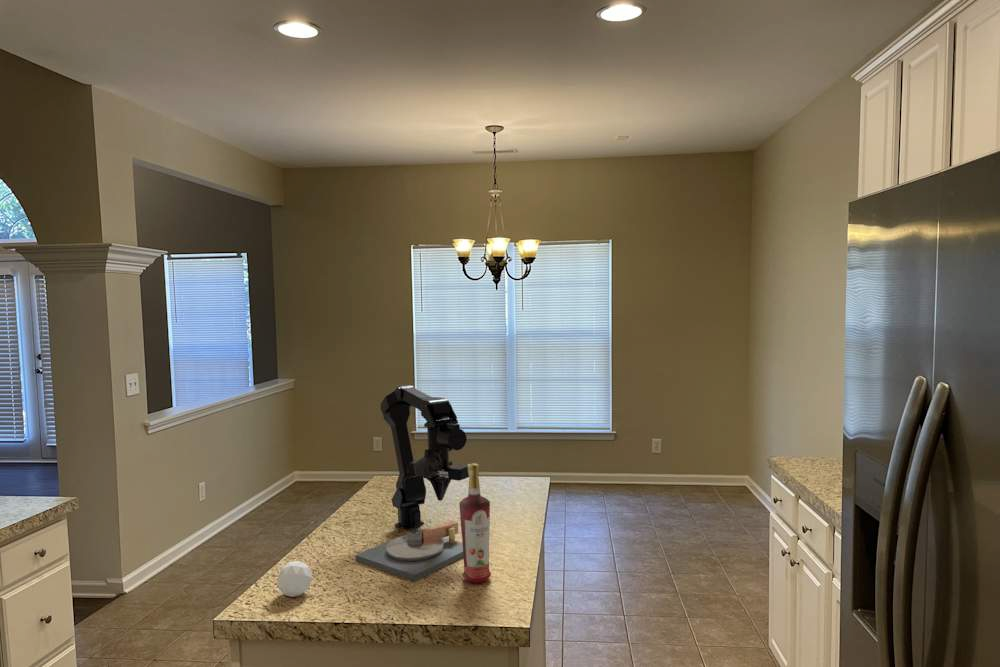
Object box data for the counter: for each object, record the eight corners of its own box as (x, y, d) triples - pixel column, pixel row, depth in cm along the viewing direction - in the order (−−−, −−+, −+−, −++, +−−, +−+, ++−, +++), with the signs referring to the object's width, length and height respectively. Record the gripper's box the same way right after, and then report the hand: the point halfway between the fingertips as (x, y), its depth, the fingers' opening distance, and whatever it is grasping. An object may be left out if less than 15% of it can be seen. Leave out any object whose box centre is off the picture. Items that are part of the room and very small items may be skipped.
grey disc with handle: (403, 566, 160) (403, 548, 160) (376, 548, 172) (376, 531, 172) (471, 545, 172) (471, 528, 172) (442, 530, 184) (441, 515, 184)
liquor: (468, 589, 150) (464, 470, 149) (457, 577, 157) (453, 463, 156) (496, 582, 153) (493, 466, 152) (485, 571, 160) (481, 459, 158)
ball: (304, 605, 150) (319, 582, 148) (271, 602, 146) (285, 578, 143) (302, 578, 156) (316, 556, 154) (270, 575, 152) (284, 551, 149)
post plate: (355, 560, 169) (354, 540, 169) (416, 535, 186) (415, 516, 186) (414, 581, 155) (414, 558, 155) (474, 551, 173) (473, 531, 172)
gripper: (393, 447, 177) (395, 503, 178) (447, 453, 167) (449, 513, 167) (419, 439, 186) (421, 493, 187) (472, 445, 176) (474, 501, 177)
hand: (440, 500), depth 179 cm, fingers closed
